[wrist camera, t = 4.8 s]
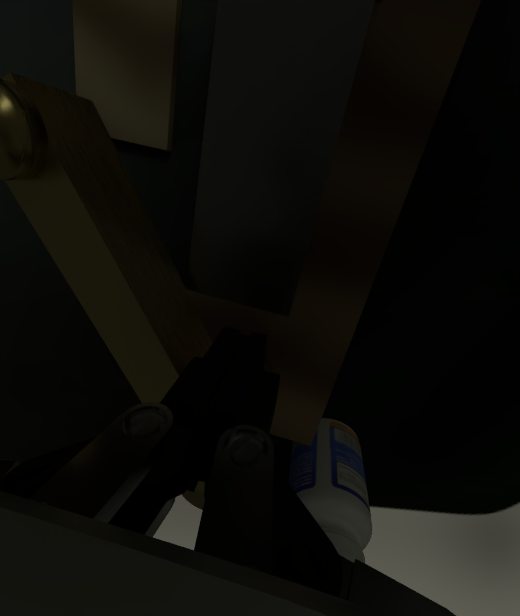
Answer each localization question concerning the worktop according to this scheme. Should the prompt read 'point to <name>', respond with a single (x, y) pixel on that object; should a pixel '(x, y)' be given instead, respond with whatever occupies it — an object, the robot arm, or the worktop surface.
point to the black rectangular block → (270, 142)
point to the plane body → (355, 204)
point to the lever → (100, 235)
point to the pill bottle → (334, 486)
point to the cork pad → (129, 65)
